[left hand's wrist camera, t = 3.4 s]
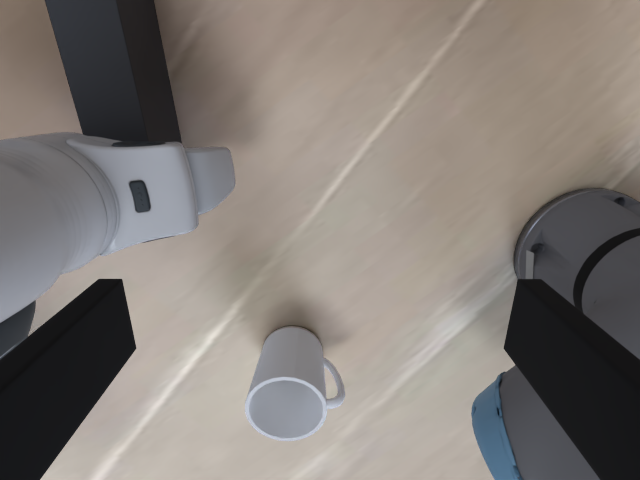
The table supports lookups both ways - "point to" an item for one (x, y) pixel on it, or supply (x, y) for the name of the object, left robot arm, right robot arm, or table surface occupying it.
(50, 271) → the right robot arm
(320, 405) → the mug
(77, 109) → the bar
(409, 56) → the table surface
